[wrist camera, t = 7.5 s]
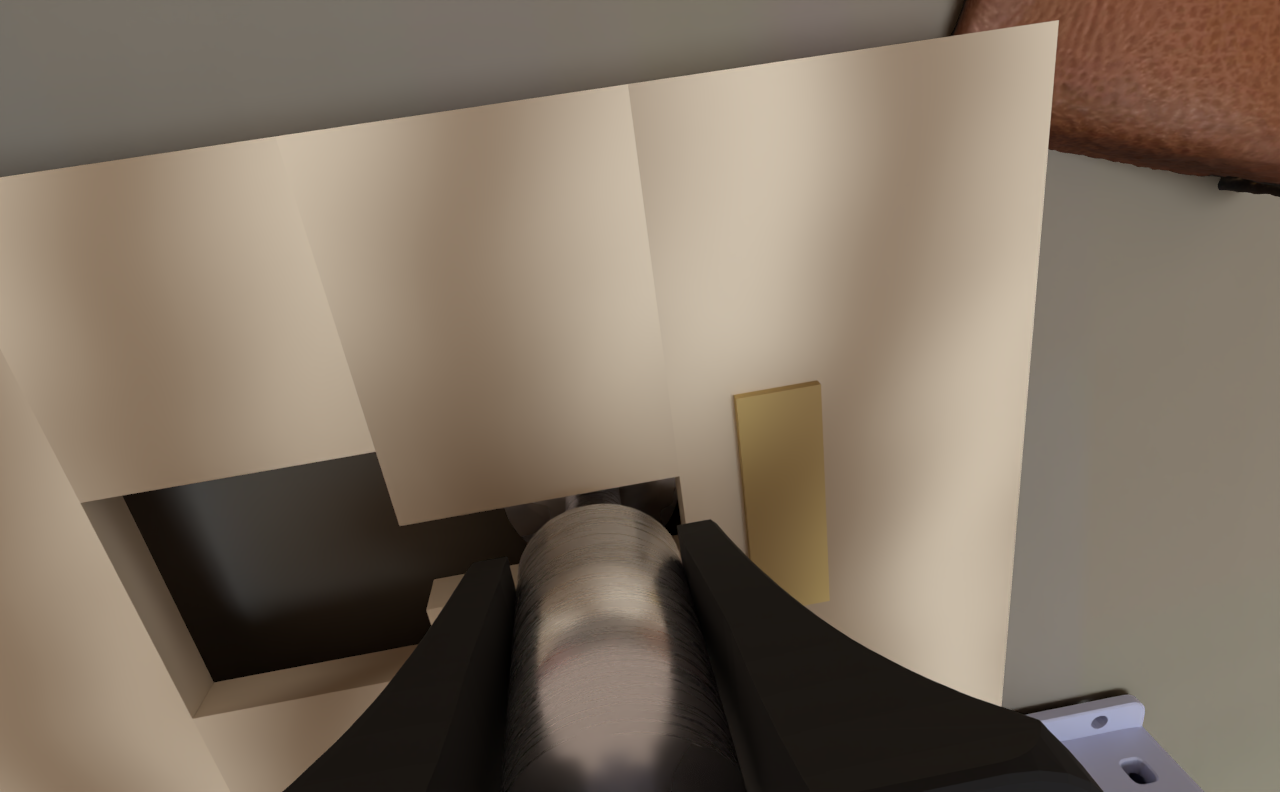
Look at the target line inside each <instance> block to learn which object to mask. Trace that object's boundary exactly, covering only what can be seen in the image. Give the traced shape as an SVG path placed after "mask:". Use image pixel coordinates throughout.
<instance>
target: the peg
mask: <svg viewBox="0 0 1280 792" xmlns="http://www.w3.org/2000/svg"><path fill="white" fill-rule="evenodd" d="M677 500H678V497H677V489H676V482H675V477H672V478H667V479H661V480H655V481H650V482H644V483H639V484H633V485H628V486H622V487H616V488H611V489H605V490H600V491H594V492H588V493H583V494H577V495H572V496H566V497H560V498H555V499H549V500H544V501H538V502H532V503H527V504H521V505H516V506H510V507H504V509H505V512H506V515H507V517H508V519H509V521H510V523H511V524H512V526H513V527H514V529H515V530H516V532H517V533H518V534H519V535H520V536H521V537H522V538H523V539H524V540H525V541H526V542H527V545H526V547H525V549H524V551H523V553H522V555H521V558H520V562H519V567H518V574H517V587H516V600H515V613H514V625H513V638H512V651H511V664H510V677H509V690H508V703H507V716H506V729H505V742H504V755H503V767H502V780H501V792H747V789H746V786H745V782H744V779H743V775H742V772H741V768H740V765H739V761H738V758H737V754H736V751H735V747H734V744H733V740H732V737H731V733H730V730H729V726H728V722H727V719H726V715H725V712H724V708H723V705H722V701H721V698H720V694H719V691H718V687H717V684H716V680H715V677H714V673H713V670H712V666H711V663H710V659H709V656H708V652H707V648H706V645H705V641H704V638H703V634H702V631H701V627H700V624H699V620H698V617H697V613H696V610H695V607H694V603H693V600H692V597H691V593H690V590H689V586H688V583H687V579H686V576H685V572H684V569H683V565H682V560H681V557H680V553H679V550H678V548H677V545H676V543H675V541H674V539H673V538H672V536H671V535H670V533H669V532H668V531H667V530H666V528H665V525H666V524H667V523H668V521H669V519H670V517H671V516H672V514H673V512H674V509H675V506H676V504H677Z"/></svg>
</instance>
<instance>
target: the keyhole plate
mask: <svg viewBox="0 0 1280 792" xmlns="http://www.w3.org/2000/svg"><path fill="white" fill-rule="evenodd" d="M1058 25H1059V20H1057V21H1050V22H1043V23H1036V24H1030V25H1023V26H1016V27H1009V28H1003V29H996V30H989V31H982V32H976V33H969V34H962V35H956V36H949V37H942V38H935V39H929V40H922V41H915V42H908V43H902V44H895V45H888V46H881V47H875V48H868V49H861V50H855V51H848V52H841V53H834V54H828V55H821V56H814V57H807V58H801V59H794V60H787V61H780V62H774V63H767V64H760V65H754V66H747V67H740V68H733V69H727V70H720V71H713V72H706V73H700V74H693V75H686V76H680V77H673V78H666V79H659V80H653V81H646V82H639V83H632V84H626V85H619V86H612V87H605V88H599V89H592V90H585V91H579V92H572V93H565V94H558V95H552V96H545V97H538V98H531V99H525V100H518V101H511V102H504V103H498V104H491V105H484V106H478V107H471V108H464V109H457V110H451V111H444V112H437V113H430V114H424V115H417V116H410V117H403V118H397V119H390V120H383V121H377V122H370V123H363V124H356V125H350V126H343V127H336V128H329V129H323V130H316V131H309V132H302V133H296V134H289V135H282V136H276V137H269V138H262V139H255V140H249V141H242V142H235V143H228V144H222V145H215V146H208V147H202V148H195V149H188V150H181V151H175V152H168V153H161V154H154V155H148V156H141V157H134V158H127V159H121V160H114V161H107V162H101V163H94V164H87V165H80V166H74V167H67V168H60V169H53V170H47V171H40V172H33V173H26V174H20V175H13V176H6V177H0V792H282V791H284V790H285V789H286V788H287V787H288V786H289V785H290V784H292V783H293V782H294V781H295V780H296V779H297V778H298V777H299V776H300V775H301V774H302V773H303V772H304V771H305V770H306V769H308V768H309V767H310V766H311V765H312V764H313V763H314V762H315V761H316V760H317V759H318V758H319V757H320V756H321V755H322V754H323V753H324V752H326V751H327V750H328V749H329V748H330V747H331V746H332V745H333V744H334V743H335V742H336V741H337V740H338V739H339V738H340V737H341V736H342V735H343V734H344V733H345V732H346V731H347V730H348V729H349V728H350V727H351V726H352V724H353V723H354V722H355V721H356V720H357V719H358V718H359V717H360V716H361V715H362V714H363V713H364V712H365V710H366V709H367V708H368V707H369V706H370V705H371V704H372V703H373V702H374V700H375V699H376V698H377V697H378V696H379V695H380V693H381V692H382V691H383V690H384V689H385V687H386V686H387V685H388V683H389V682H390V681H391V680H392V678H393V677H394V676H395V674H396V673H397V672H398V671H399V669H400V668H401V667H402V665H403V664H404V663H405V661H406V660H407V659H408V658H409V656H410V655H411V654H412V652H413V651H414V650H415V648H416V647H417V645H418V644H417V645H411V646H406V647H401V648H395V649H390V650H385V651H379V652H374V653H369V654H363V655H358V656H353V657H347V658H342V659H337V660H331V661H326V662H321V663H315V664H310V665H305V666H299V667H294V668H289V669H283V670H278V671H273V672H267V673H262V674H257V675H251V676H246V677H241V678H235V679H230V680H225V681H219V682H213V680H212V678H211V676H210V674H209V672H208V670H207V668H206V666H205V664H204V662H203V659H202V657H201V655H200V653H199V651H198V649H197V647H196V645H195V643H194V641H193V639H192V637H191V635H190V633H189V631H188V629H187V627H186V625H185V623H184V621H183V619H182V617H181V615H180V613H179V611H178V608H177V606H176V604H175V602H174V600H173V598H172V596H171V594H170V592H169V590H168V588H167V586H166V584H165V582H164V580H163V578H162V576H161V574H160V572H159V570H158V568H157V566H156V564H155V562H154V560H153V557H152V555H151V553H150V551H149V549H148V547H147V545H146V543H145V541H144V539H143V537H142V535H141V533H140V531H139V529H138V527H137V525H136V523H135V521H134V519H133V517H132V515H131V513H130V511H129V509H128V507H127V504H126V502H125V500H124V498H123V495H128V494H134V493H140V492H146V491H152V490H157V489H163V488H169V487H175V486H181V485H186V484H192V483H198V482H204V481H210V480H215V479H221V478H227V477H233V476H238V475H244V474H250V473H256V472H262V471H267V470H273V469H279V468H285V467H291V466H296V465H302V464H308V463H314V462H319V461H325V460H331V459H337V458H343V457H348V456H354V455H360V454H366V453H372V452H376V454H377V457H378V460H379V464H380V467H381V470H382V473H383V476H384V479H385V482H386V485H387V489H388V492H389V495H390V498H391V501H392V504H393V507H394V511H395V514H396V517H397V520H398V523H399V526H404V525H409V524H415V523H420V522H426V521H432V520H437V519H443V518H448V517H454V516H460V515H465V514H471V513H476V512H482V511H488V510H493V509H499V508H504V507H510V506H516V505H521V504H527V503H532V502H538V501H544V500H549V499H555V498H560V497H566V496H572V495H577V494H583V493H588V492H594V491H600V490H605V489H611V488H616V487H622V486H628V485H633V484H639V483H644V482H650V481H655V480H661V479H667V478H672V477H675V482H676V489H677V497H678V504H679V512H680V519H681V524H687V523H692V522H698V521H703V520H708V519H711V520H712V521H714V522H715V523H717V524H718V526H719V527H720V528H721V529H722V530H723V531H724V533H725V534H726V535H727V536H728V537H729V538H730V539H731V540H732V541H733V542H734V543H735V545H736V546H737V547H738V548H739V549H740V550H741V551H742V552H743V553H744V554H745V555H746V556H747V557H748V558H749V559H750V560H751V561H752V562H754V563H755V564H756V565H757V566H758V567H759V568H760V569H761V570H762V571H763V572H764V573H766V574H767V575H768V576H769V577H770V578H771V579H772V580H773V581H774V582H776V583H777V584H778V585H779V586H780V587H781V588H783V589H784V590H785V591H786V592H787V593H789V594H790V595H791V596H792V597H794V598H795V599H796V600H797V601H799V602H800V603H801V604H802V605H804V606H805V607H806V608H808V609H809V610H810V611H812V612H813V613H814V614H816V615H817V616H818V617H820V618H821V619H823V620H824V621H825V622H827V623H828V624H830V625H831V626H833V627H834V628H836V629H837V630H839V631H840V632H842V633H843V634H845V635H847V636H848V637H850V638H851V639H853V640H855V641H856V642H858V643H860V644H861V645H863V646H865V647H867V648H868V649H870V650H872V651H874V652H876V653H878V654H880V655H882V656H884V657H886V658H887V659H889V660H891V661H893V662H895V663H897V664H899V665H901V666H903V667H905V668H907V669H909V670H911V671H913V672H915V673H917V674H920V675H922V676H924V677H926V678H928V679H931V680H933V681H935V682H938V683H940V684H942V685H945V686H947V687H949V688H952V689H954V690H957V691H959V692H961V693H964V694H966V695H969V696H971V697H974V698H977V699H980V700H983V701H986V702H989V703H992V704H995V705H997V706H1000V707H1001V705H1002V693H1003V681H1004V669H1005V657H1006V645H1007V633H1008V622H1009V610H1010V598H1011V586H1012V574H1013V562H1014V550H1015V538H1016V526H1017V514H1018V502H1019V490H1020V478H1021V466H1022V455H1023V443H1024V431H1025V419H1026V407H1027V395H1028V383H1029V371H1030V359H1031V347H1032V335H1033V323H1034V311H1035V299H1036V288H1037V276H1038V264H1039V252H1040V240H1041V228H1042V216H1043V204H1044V192H1045V180H1046V168H1047V156H1048V144H1049V132H1050V121H1051V109H1052V97H1053V85H1054V73H1055V61H1056V49H1057V37H1058ZM672 538H673V539H674V541H675V543H676V545H677V548H678V550H679V553H680V557H681V552H680V545H679V538H678V535H674V536H672ZM681 560H682V559H681ZM518 567H519V564H516V565H510V569H511V573H512V577H513V581H514V584H515V588H516V587H517V574H518ZM464 575H465V574H461V575H456V576H450V577H445V578H439V579H434V581H433V585H432V589H431V593H430V597H429V601H428V605H427V609H426V611H427V614H428V617H429V620H430V623H431V625H432V624H433V622H434V621H435V619H436V618H437V617H438V615H439V613H440V612H441V610H442V609H443V607H444V606H445V604H446V603H447V601H448V600H449V598H450V597H451V595H452V593H453V592H454V590H455V589H456V587H457V586H458V584H459V582H460V581H461V579H462V578H463V576H464Z"/></svg>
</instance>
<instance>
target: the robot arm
mask: <svg viewBox="0 0 1280 792" xmlns="http://www.w3.org/2000/svg"><path fill="white" fill-rule="evenodd" d="M677 531H678V538H679V545H680V552H681V559H682V565H683V569H684V572H685V576H686V579H687V583H688V586H689V590H690V593H691V597H692V600H693V603H694V607H695V610H696V613H697V617H698V620H699V624H700V627H701V631H702V634H703V638H704V641H705V645H706V648H707V652H708V656H709V659H710V663H711V666H712V670H713V673H714V677H715V680H716V684H717V687H718V691H719V694H720V698H721V701H722V705H723V708H724V712H725V715H726V719H727V722H728V726H729V730H730V733H731V737H732V740H733V744H734V747H735V751H736V754H737V758H738V761H739V765H740V768H741V772H742V775H743V779H744V782H745V786H746V789H747V792H1204V791H1203V790H1202V789H1201V788H1200V787H1199V786H1198V785H1197V784H1196V783H1195V781H1194V780H1193V779H1192V778H1191V777H1190V776H1189V775H1188V774H1187V773H1186V772H1185V771H1184V770H1183V769H1182V768H1181V767H1180V766H1179V765H1178V764H1177V763H1176V761H1175V760H1174V759H1173V758H1172V757H1171V756H1170V755H1169V754H1168V753H1167V752H1166V751H1165V750H1164V749H1163V748H1162V747H1161V746H1160V745H1159V744H1158V743H1157V741H1156V740H1155V739H1154V738H1153V737H1152V736H1151V735H1150V734H1149V733H1148V732H1147V731H1146V730H1145V729H1144V728H1143V727H1142V724H1143V719H1144V714H1145V707H1144V706H1143V704H1142V703H1141V702H1140V701H1139V700H1138V699H1137V698H1136V697H1135V696H1132V695H1120V696H1115V697H1110V698H1105V699H1100V700H1095V701H1090V702H1085V703H1080V704H1075V705H1070V706H1066V707H1061V708H1056V709H1051V710H1046V711H1041V712H1036V713H1031V714H1026V715H1024V714H1021V713H1018V712H1015V711H1012V710H1009V709H1006V708H1003V707H1000V706H997V705H995V704H992V703H989V702H986V701H983V700H980V699H977V698H974V697H971V696H969V695H966V694H964V693H961V692H959V691H957V690H954V689H952V688H949V687H947V686H945V685H942V684H940V683H938V682H935V681H933V680H931V679H928V678H926V677H924V676H922V675H920V674H917V673H915V672H913V671H911V670H909V669H907V668H905V667H903V666H901V665H899V664H897V663H895V662H893V661H891V660H889V659H887V658H886V657H884V656H882V655H880V654H878V653H876V652H874V651H872V650H870V649H868V648H867V647H865V646H863V645H861V644H860V643H858V642H856V641H855V640H853V639H851V638H850V637H848V636H847V635H845V634H843V633H842V632H840V631H839V630H837V629H836V628H834V627H833V626H831V625H830V624H828V623H827V622H825V621H824V620H823V619H821V618H820V617H818V616H817V615H816V614H814V613H813V612H812V611H810V610H809V609H808V608H806V607H805V606H804V605H802V604H801V603H800V602H799V601H797V600H796V599H795V598H794V597H792V596H791V595H790V594H789V593H787V592H786V591H785V590H784V589H783V588H781V587H780V586H779V585H778V584H777V583H776V582H774V581H773V580H772V579H771V578H770V577H769V576H768V575H767V574H766V573H764V572H763V571H762V570H761V569H760V568H759V567H758V566H757V565H756V564H755V563H754V562H752V561H751V560H750V559H749V558H748V557H747V556H746V555H745V554H744V553H743V552H742V551H741V550H740V549H739V548H738V547H737V546H736V545H735V543H734V542H733V541H732V540H731V539H730V538H729V537H728V536H727V535H726V534H725V533H724V531H723V530H722V529H721V528H720V527H719V526H718V524H717V523H715V522H714V521H712V520H711V519H708V520H703V521H698V522H692V523H687V524H681V525H677ZM515 600H516V588H515V584H514V581H513V577H512V573H511V569H510V565H509V561H508V557H502V558H497V559H491V560H486V561H480V562H475V563H472V565H471V566H470V567H469V569H468V570H467V572H466V573H465V575H464V576H463V578H462V579H461V581H460V582H459V584H458V586H457V587H456V589H455V590H454V592H453V593H452V595H451V597H450V598H449V600H448V601H447V603H446V604H445V606H444V607H443V609H442V610H441V612H440V613H439V615H438V617H437V618H436V619H435V621H434V622H433V624H432V625H431V627H430V628H429V630H428V631H427V632H426V634H425V635H424V637H423V638H422V640H421V641H420V643H419V644H418V645H417V647H416V648H415V650H414V651H413V652H412V654H411V655H410V656H409V658H408V659H407V660H406V661H405V663H404V664H403V665H402V667H401V668H400V669H399V671H398V672H397V673H396V674H395V676H394V677H393V678H392V680H391V681H390V682H389V683H388V685H387V686H386V687H385V689H384V690H383V691H382V692H381V693H380V695H379V696H378V697H377V698H376V699H375V700H374V702H373V703H372V704H371V705H370V706H369V707H368V708H367V709H366V710H365V712H364V713H363V714H362V715H361V716H360V717H359V718H358V719H357V720H356V721H355V722H354V723H353V724H352V726H351V727H350V728H349V729H348V730H347V731H346V732H345V733H344V734H343V735H342V736H341V737H340V738H339V739H338V740H337V741H336V742H335V743H334V744H333V745H332V746H331V747H330V748H329V749H328V750H327V751H326V752H324V753H323V754H322V755H321V756H320V757H319V758H318V759H317V760H316V761H315V762H314V763H313V764H312V765H311V766H310V767H309V768H308V769H306V770H305V771H304V772H303V773H302V774H301V775H300V776H299V777H298V778H297V779H296V780H295V781H294V782H293V783H292V784H290V785H289V786H288V787H287V788H286V789H285V790H284V791H282V792H501V780H502V767H503V755H504V742H505V729H506V716H507V703H508V690H509V677H510V664H511V651H512V638H513V625H514V613H515Z"/></svg>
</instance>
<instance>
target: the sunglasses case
mask: <svg viewBox="0 0 1280 792" xmlns="http://www.w3.org/2000/svg"><path fill="white" fill-rule="evenodd" d="M1057 20H1059V25H1058V37H1057V49H1056V61H1055V73H1054V85H1053V97H1052V109H1051V121H1050V132H1049V144H1048V149H1050V150H1057V151H1060V152H1064V153H1073V154H1078V155H1085V156H1088V157H1092V158H1103V159H1107V160H1110V161H1113V162H1120V163H1127V164H1132V165H1135V166H1137V167H1149V168H1151V169H1154V170H1156V169H1160V170H1169V171H1172V172H1176V173H1179V174H1186V175H1197V176H1218V177H1221V179H1220V181H1219V183H1218V189H1219V190H1230V191H1236V192H1249V193H1253V194H1271V195H1274V196H1278V197H1280V0H964V4H963V7H962V10H961V13H960V16H959V18H958V21H957V24H956V26H955V29H954V31H953V33H952V35H951V36H956V35H962V34H969V33H976V32H982V31H989V30H996V29H1003V28H1009V27H1016V26H1023V25H1030V24H1036V23H1043V22H1050V21H1057Z"/></svg>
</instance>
